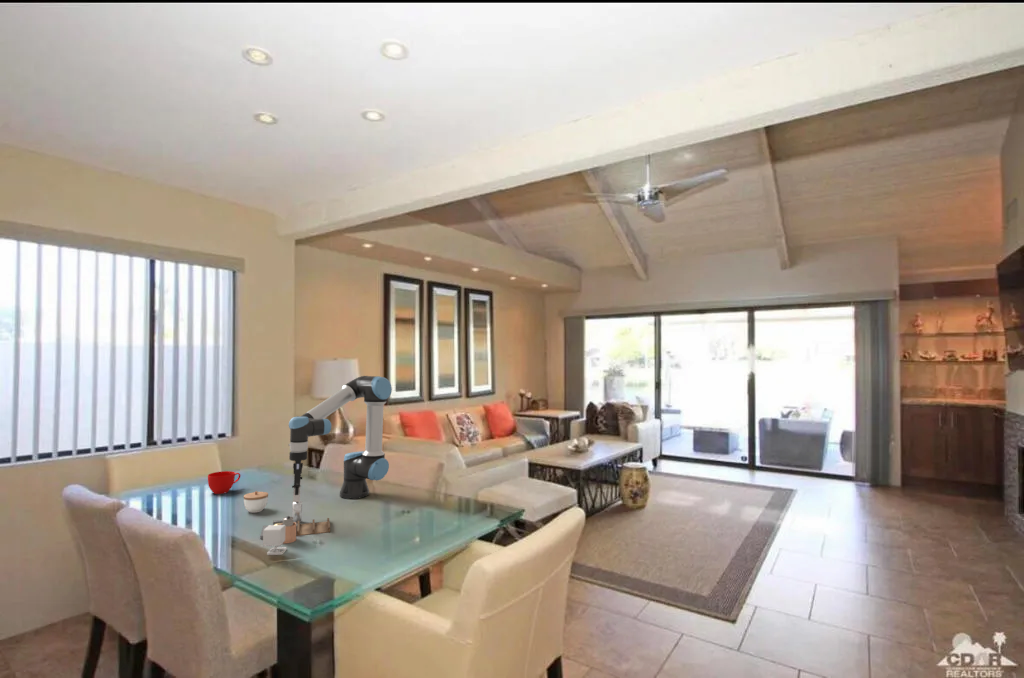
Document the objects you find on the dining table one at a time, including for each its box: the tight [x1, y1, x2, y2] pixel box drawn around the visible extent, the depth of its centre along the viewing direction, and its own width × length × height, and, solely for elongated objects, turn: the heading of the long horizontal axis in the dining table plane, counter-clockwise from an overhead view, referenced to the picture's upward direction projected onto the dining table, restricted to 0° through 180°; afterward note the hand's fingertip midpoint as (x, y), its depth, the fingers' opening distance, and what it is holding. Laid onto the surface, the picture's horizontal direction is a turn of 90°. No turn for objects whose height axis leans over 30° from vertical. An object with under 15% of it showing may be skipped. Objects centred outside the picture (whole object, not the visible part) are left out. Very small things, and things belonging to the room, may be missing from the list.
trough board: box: [296, 517, 331, 537], centre depth 227 cm, size 13×14×2 cm
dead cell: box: [282, 515, 293, 527], centre depth 213 cm, size 4×4×10 cm
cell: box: [291, 500, 303, 525], centre depth 237 cm, size 4×4×10 cm
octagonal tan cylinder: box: [280, 522, 297, 544], centre depth 213 cm, size 6×6×7 cm
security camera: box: [262, 524, 288, 556], centre depth 200 cm, size 6×7×10 cm
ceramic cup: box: [207, 470, 241, 495], centre depth 284 cm, size 13×17×10 cm
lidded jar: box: [243, 490, 269, 514], centre depth 252 cm, size 11×11×9 cm
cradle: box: [259, 519, 283, 540], centre depth 223 cm, size 13×15×3 cm
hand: (296, 498), depth 236 cm, fingers open, 13 cm apart
